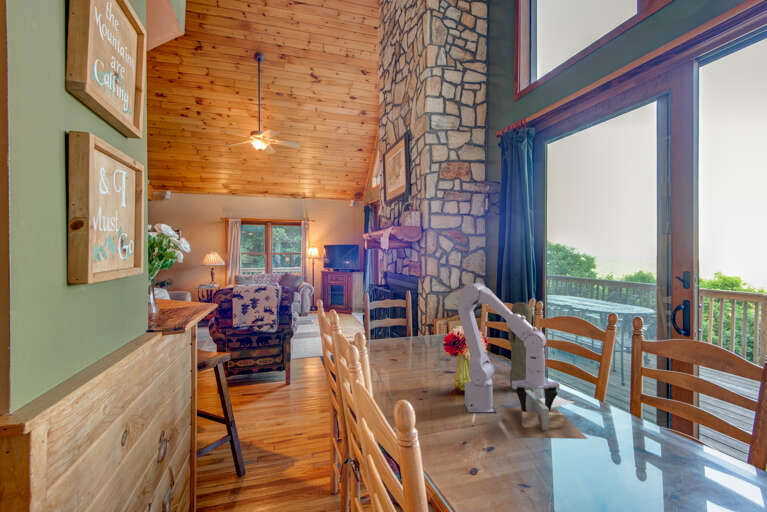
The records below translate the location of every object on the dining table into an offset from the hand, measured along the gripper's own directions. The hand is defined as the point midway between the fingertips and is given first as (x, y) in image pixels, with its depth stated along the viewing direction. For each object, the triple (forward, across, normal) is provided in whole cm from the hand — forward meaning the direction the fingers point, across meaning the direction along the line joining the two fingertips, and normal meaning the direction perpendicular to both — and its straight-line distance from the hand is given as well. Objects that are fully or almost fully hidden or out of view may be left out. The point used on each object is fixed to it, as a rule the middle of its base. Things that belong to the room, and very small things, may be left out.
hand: (535, 410), depth 113 cm
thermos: (+4, +5, +28) cm, 28 cm away
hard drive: (+4, +12, +14) cm, 19 cm away
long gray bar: (+2, 0, 0) cm, 2 cm away
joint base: (+3, 0, -2) cm, 4 cm away
